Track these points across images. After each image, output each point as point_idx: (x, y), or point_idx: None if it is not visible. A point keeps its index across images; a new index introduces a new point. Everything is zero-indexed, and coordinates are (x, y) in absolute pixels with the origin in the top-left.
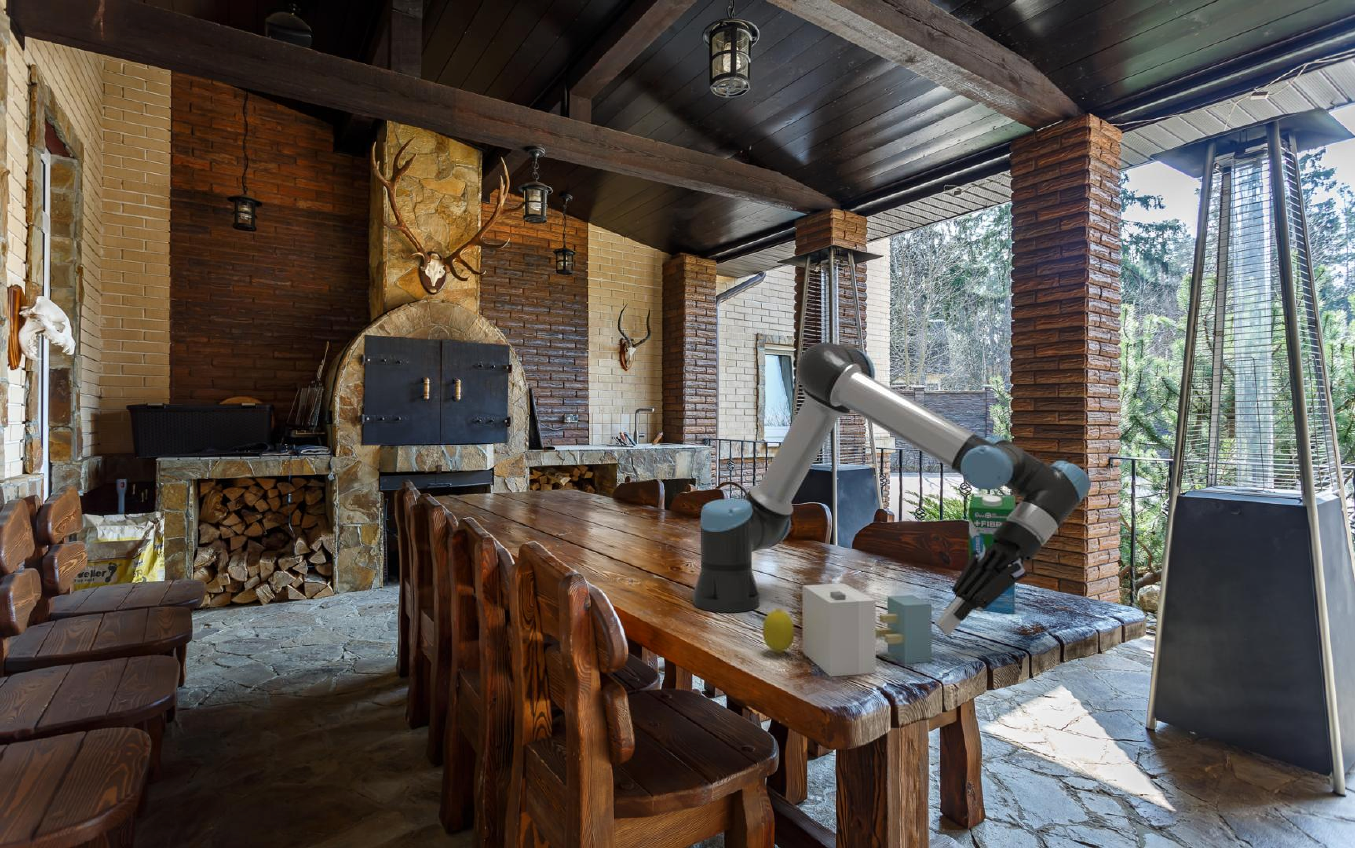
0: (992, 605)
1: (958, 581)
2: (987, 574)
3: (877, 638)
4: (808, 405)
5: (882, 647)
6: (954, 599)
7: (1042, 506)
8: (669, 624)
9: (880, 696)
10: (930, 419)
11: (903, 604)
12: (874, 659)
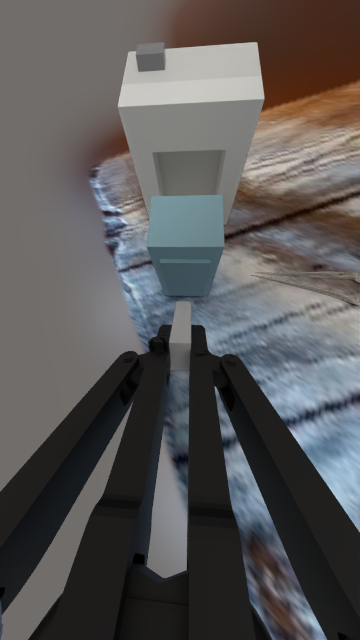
0: None
1: (247, 385)
2: (122, 467)
3: (259, 276)
4: None
5: (225, 267)
6: (204, 345)
7: None
8: (335, 99)
9: (102, 207)
10: None
11: (158, 196)
12: (147, 211)
